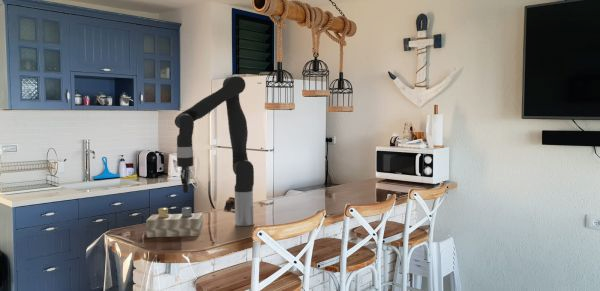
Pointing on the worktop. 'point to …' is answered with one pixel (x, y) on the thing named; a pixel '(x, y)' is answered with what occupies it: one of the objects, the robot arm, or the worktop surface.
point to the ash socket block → (174, 225)
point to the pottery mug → (230, 204)
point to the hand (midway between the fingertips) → (186, 192)
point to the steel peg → (186, 212)
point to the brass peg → (163, 212)
